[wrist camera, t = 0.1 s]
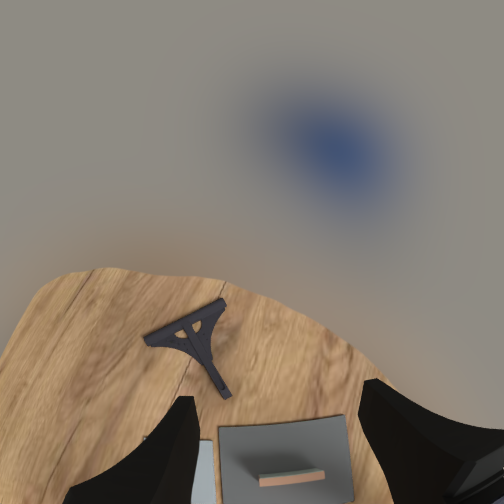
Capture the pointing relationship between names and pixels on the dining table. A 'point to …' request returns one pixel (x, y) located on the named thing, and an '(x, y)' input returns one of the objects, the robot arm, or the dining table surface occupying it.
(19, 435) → the dining table surface
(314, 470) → the tile
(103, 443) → the dining table surface
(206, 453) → the rest pad
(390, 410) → the robot arm
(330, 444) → the slate mat
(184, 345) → the bracket
